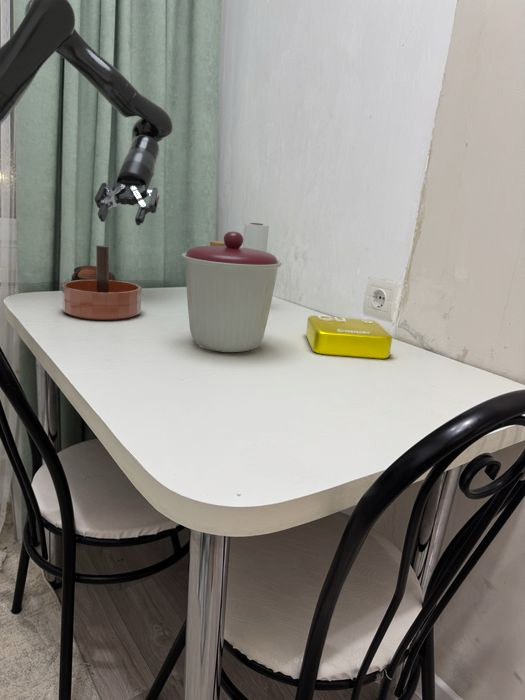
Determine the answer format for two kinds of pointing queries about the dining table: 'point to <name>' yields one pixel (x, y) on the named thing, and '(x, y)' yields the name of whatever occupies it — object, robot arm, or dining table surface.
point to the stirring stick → (102, 268)
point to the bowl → (101, 300)
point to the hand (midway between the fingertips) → (119, 221)
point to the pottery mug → (87, 273)
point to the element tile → (348, 337)
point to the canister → (229, 294)
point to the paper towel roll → (255, 236)
